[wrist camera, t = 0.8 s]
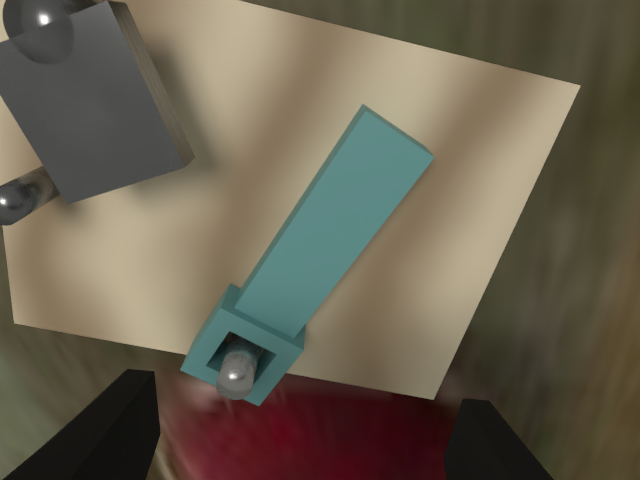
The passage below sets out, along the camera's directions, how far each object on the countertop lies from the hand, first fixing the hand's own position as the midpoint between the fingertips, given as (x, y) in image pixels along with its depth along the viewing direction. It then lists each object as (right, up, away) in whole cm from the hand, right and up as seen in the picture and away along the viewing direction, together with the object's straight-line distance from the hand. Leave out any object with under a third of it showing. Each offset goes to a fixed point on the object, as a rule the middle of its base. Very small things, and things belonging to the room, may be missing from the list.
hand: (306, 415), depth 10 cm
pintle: (-3, 0, +9) cm, 10 cm away
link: (-1, +3, +8) cm, 8 cm away
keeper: (-8, +10, +6) cm, 14 cm away
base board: (-2, +5, +8) cm, 10 cm away
